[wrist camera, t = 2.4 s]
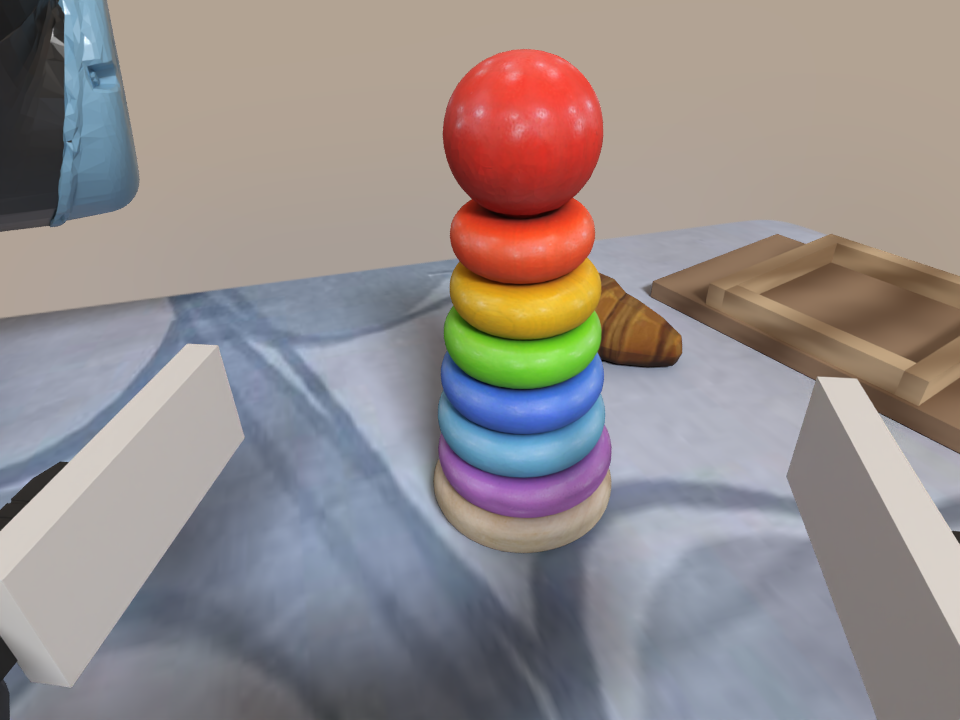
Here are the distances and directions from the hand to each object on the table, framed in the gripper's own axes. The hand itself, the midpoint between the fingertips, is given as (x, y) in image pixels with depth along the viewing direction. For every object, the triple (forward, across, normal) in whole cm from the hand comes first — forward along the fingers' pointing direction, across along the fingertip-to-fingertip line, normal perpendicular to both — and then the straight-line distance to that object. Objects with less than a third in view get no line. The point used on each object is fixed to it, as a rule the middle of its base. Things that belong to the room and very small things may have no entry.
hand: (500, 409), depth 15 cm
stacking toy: (+10, 0, -13) cm, 16 cm away
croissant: (+24, +2, -13) cm, 27 cm away
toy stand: (+27, +20, -12) cm, 36 cm away
